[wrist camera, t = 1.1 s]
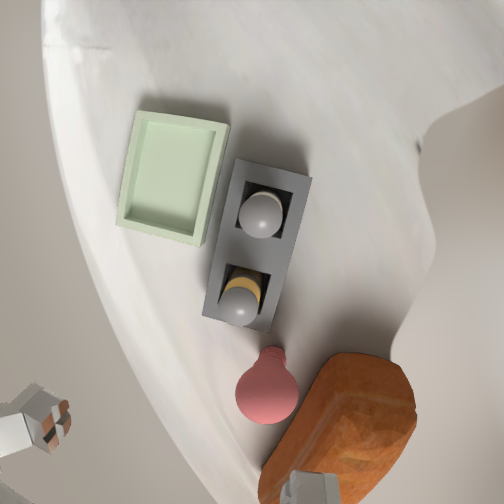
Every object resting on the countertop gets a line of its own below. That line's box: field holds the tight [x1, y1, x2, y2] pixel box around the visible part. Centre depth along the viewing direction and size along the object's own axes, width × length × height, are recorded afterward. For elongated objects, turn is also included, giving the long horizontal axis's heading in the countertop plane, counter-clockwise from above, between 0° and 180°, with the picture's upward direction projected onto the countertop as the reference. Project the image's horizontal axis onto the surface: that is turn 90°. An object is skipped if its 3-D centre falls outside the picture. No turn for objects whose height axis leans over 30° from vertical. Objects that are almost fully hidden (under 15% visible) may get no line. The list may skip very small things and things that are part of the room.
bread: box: [258, 353, 417, 504], centre depth 37 cm, size 14×33×16 cm, turn 163°
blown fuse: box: [218, 266, 263, 326], centre depth 34 cm, size 4×4×9 cm
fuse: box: [239, 189, 282, 238], centre depth 32 cm, size 4×4×9 cm
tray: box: [116, 110, 231, 247], centre depth 35 cm, size 14×11×2 cm
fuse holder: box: [202, 159, 312, 333], centre depth 35 cm, size 18×8×4 cm, turn 166°
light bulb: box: [235, 346, 299, 424], centre depth 35 cm, size 7×7×12 cm
